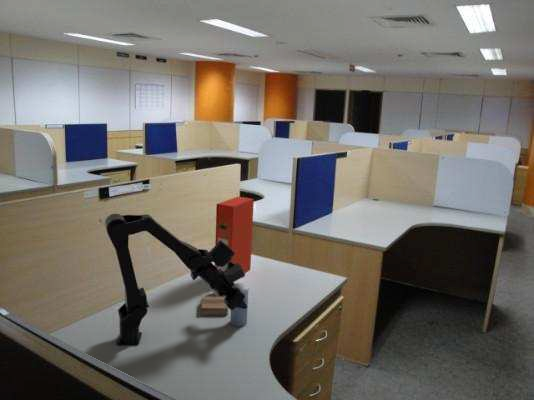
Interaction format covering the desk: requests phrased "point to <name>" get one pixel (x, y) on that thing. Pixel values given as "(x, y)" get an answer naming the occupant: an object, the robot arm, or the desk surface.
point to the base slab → (214, 306)
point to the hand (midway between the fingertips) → (243, 303)
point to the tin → (238, 313)
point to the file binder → (236, 229)
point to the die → (217, 293)
